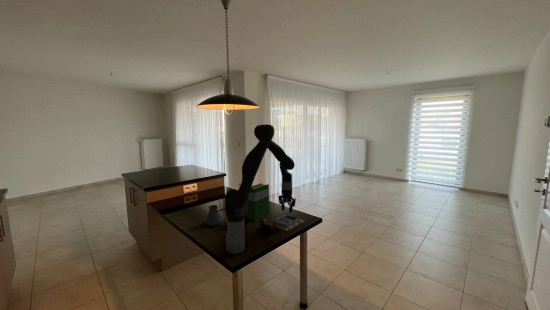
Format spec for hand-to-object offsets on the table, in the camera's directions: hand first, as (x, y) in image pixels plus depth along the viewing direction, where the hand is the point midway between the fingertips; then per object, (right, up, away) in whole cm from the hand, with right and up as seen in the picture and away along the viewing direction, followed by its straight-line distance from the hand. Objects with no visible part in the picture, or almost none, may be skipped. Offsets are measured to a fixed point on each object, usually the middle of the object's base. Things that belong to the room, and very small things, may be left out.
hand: (286, 211), depth 152 cm
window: (0, -9, +1) cm, 9 cm away
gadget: (-11, -11, -12) cm, 20 cm away
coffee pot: (-47, -9, -3) cm, 48 cm away
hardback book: (-21, -8, +13) cm, 26 cm away
